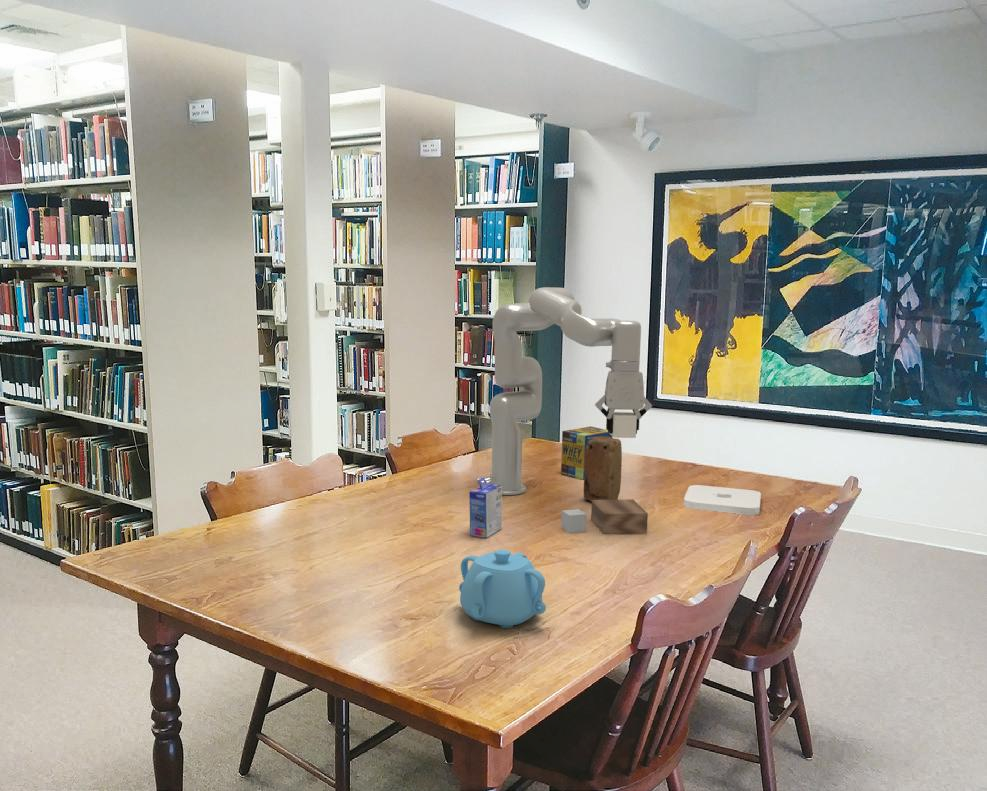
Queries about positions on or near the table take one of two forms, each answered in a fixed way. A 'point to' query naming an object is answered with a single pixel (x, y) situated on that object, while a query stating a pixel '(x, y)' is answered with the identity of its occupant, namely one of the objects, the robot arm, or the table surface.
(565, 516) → the grey block
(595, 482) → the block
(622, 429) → the cream block
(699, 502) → the computer
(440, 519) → the table surface
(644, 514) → the walnut block
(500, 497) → the ink cartridge box
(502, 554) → the decorative pot
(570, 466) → the protein box
